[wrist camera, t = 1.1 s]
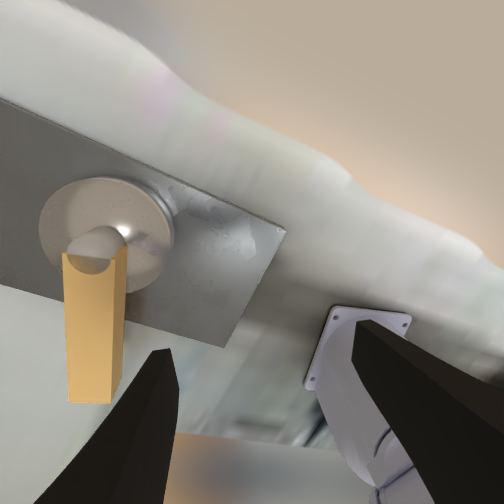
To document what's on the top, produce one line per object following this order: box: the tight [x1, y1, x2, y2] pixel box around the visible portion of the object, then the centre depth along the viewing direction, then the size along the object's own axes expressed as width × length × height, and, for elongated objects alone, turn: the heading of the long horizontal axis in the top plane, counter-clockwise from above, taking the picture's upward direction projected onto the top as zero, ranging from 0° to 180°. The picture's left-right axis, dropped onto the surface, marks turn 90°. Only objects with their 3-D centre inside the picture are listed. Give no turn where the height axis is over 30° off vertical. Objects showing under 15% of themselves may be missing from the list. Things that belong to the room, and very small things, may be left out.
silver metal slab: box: [0, 98, 287, 348], centre depth 16 cm, size 20×11×3 cm, turn 64°
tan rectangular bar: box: [62, 226, 128, 404], centre depth 15 cm, size 11×2×2 cm, turn 168°
